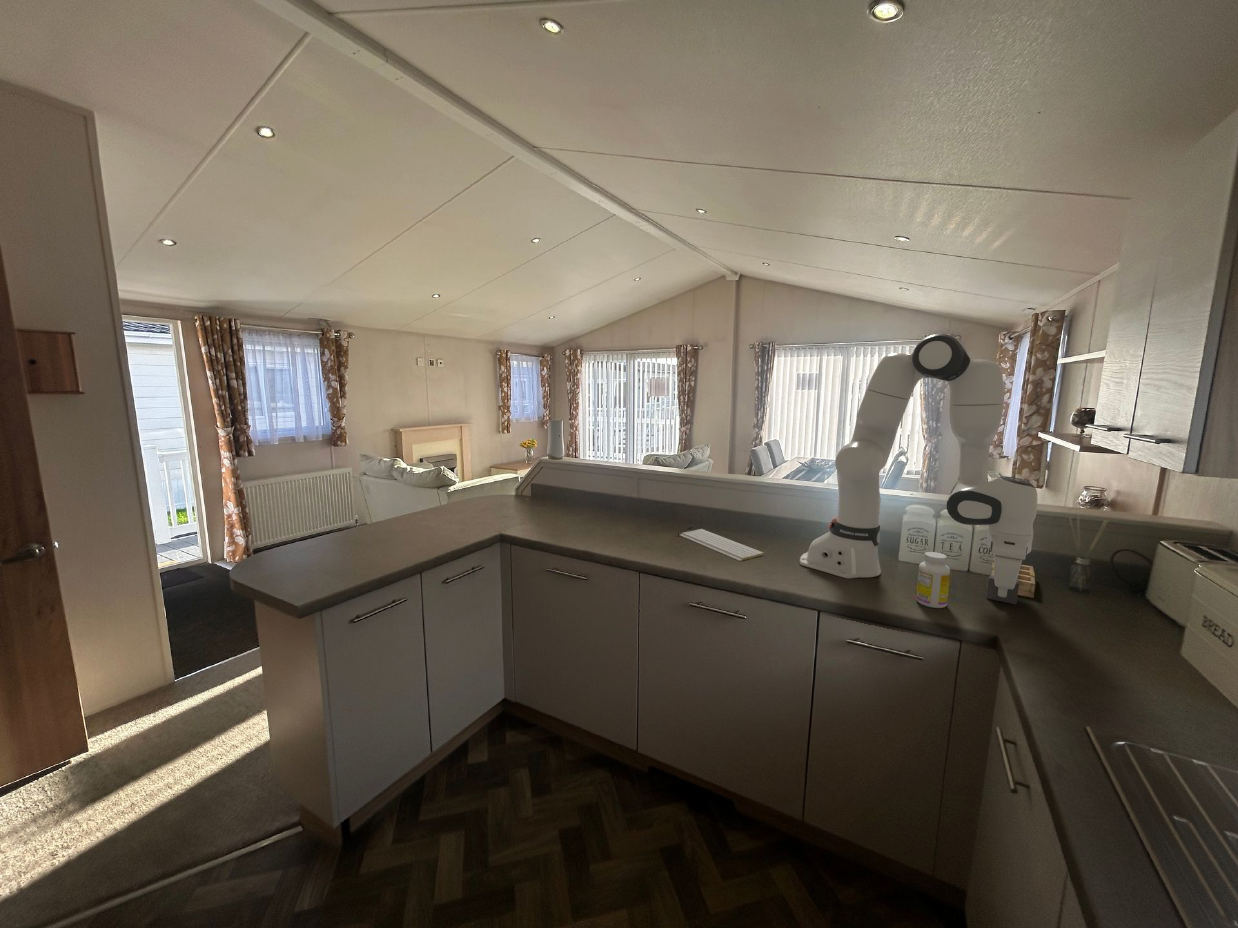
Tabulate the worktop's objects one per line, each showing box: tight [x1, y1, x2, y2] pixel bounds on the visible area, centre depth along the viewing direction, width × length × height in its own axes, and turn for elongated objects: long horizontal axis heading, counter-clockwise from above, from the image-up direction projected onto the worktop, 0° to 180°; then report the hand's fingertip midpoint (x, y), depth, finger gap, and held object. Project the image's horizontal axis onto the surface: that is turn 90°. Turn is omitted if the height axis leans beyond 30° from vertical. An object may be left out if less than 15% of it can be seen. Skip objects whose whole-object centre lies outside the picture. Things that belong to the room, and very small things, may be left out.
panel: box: [986, 574, 1019, 605], centre depth 124 cm, size 6×2×6 cm, turn 52°
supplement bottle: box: [915, 551, 951, 609], centre depth 122 cm, size 7×7×13 cm
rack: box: [990, 562, 1036, 599], centre depth 135 cm, size 9×18×4 cm, turn 142°
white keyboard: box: [679, 526, 764, 562], centre depth 168 cm, size 31×3×12 cm
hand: (1002, 593), depth 124 cm, fingers closed on panel, 2 cm apart
